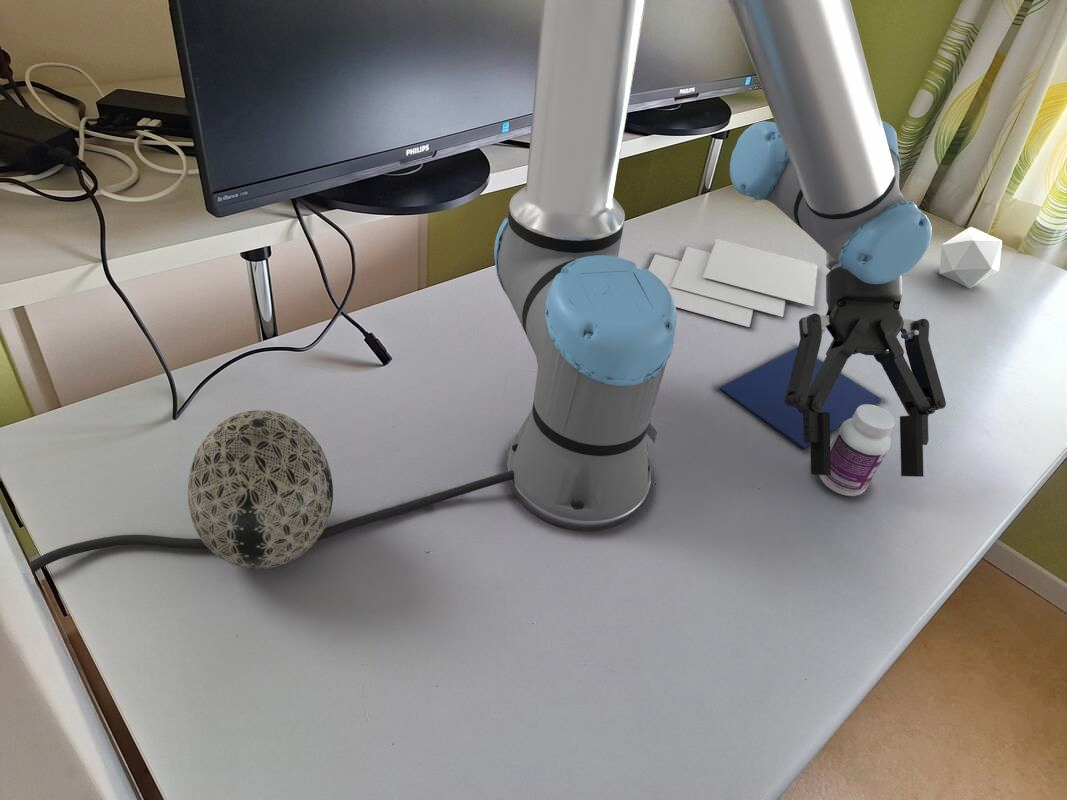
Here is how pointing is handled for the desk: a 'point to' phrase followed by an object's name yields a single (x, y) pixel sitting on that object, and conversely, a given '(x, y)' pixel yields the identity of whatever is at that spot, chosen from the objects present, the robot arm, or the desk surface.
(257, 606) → the desk surface
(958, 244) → the die
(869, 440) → the pill bottle
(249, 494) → the decorative egg
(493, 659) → the desk surface
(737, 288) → the paper stack
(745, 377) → the cloth
